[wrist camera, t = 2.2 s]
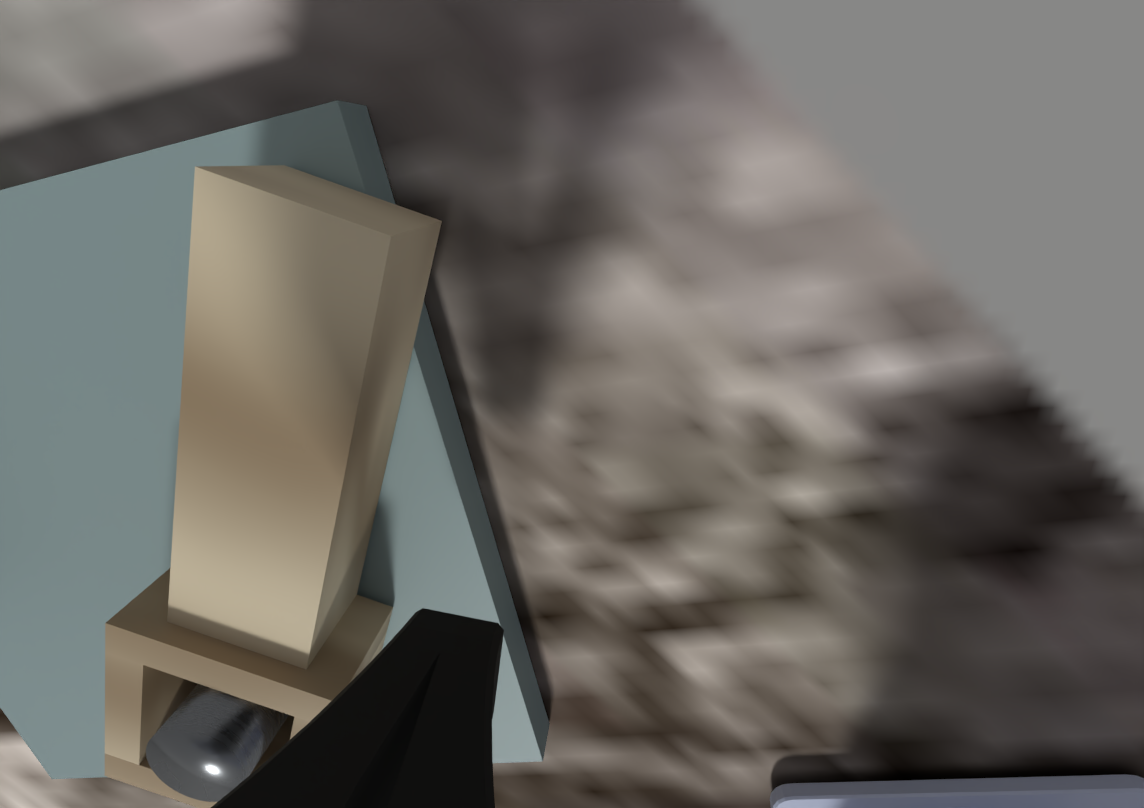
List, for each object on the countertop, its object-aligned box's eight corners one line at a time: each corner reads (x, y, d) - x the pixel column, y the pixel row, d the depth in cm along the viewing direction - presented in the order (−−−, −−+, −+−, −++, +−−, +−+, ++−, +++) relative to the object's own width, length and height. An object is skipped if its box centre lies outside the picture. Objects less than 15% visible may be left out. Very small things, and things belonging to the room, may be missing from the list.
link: (358, 737, 14) (305, 843, 12) (189, 679, 14) (104, 775, 12) (490, 238, 9) (441, 261, 7) (235, 148, 9) (107, 144, 7)
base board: (549, 723, 15) (523, 869, 12) (83, 746, 17) (-37, 870, 14) (366, 106, 10) (241, 82, 7) (-242, 265, 13) (-528, 299, 9)
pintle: (357, 637, 14) (258, 800, 11) (291, 642, 15) (173, 802, 11) (331, 576, 14) (217, 727, 10) (263, 583, 14) (129, 732, 10)
